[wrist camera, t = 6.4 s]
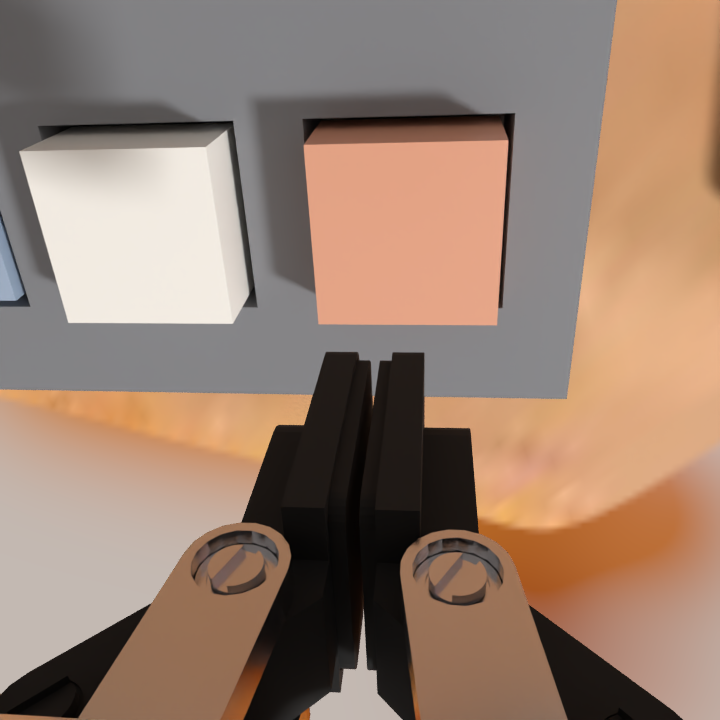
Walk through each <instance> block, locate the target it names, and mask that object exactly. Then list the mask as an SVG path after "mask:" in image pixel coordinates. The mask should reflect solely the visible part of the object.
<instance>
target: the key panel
mask: <svg viewBox="0 0 720 720" xmlns="http://www.w3.org/2000/svg"><path fill="white" fill-rule="evenodd" d="M616 4H617V0H0V211H1V214H2V217H3V221H4V224H5V227H6V230H7V233H8V237H9V240H10V243H11V246H12V249H13V252H14V256H15V259H16V262H17V265H18V268H19V272H20V275H21V278H22V281H23V284H24V288H25V291H26V293H25V294H24V295H23V296H21V297H20V298H19V299H18V300H16V301H0V389H11V390H70V391H129V392H188V393H247V394H306V395H313V393H314V390H315V387H316V383H317V380H318V376H319V373H320V369H321V366H322V363H323V359H324V356H325V353H326V352H358V354H359V360H370V361H371V375H372V396H375V391H376V384H377V377H378V370H379V363H380V360H384V361H392V353H393V352H424V354H425V374H424V397H482V398H541V399H567V392H568V384H569V376H570V368H571V361H572V353H573V345H574V337H575V329H576V321H577V313H578V305H579V297H580V289H581V281H582V273H583V266H584V258H585V250H586V242H587V234H588V226H589V218H590V210H591V202H592V194H593V186H594V178H595V170H596V163H597V155H598V147H599V139H600V131H601V123H602V115H603V107H604V99H605V91H606V83H607V75H608V68H609V60H610V52H611V44H612V36H613V28H614V20H615V12H616ZM465 116H499V117H500V119H501V122H502V124H503V127H504V130H505V132H506V135H507V138H508V156H507V172H506V188H505V204H504V220H503V237H502V253H501V269H500V285H499V301H498V317H497V325H347V324H318V312H317V300H316V288H315V276H314V265H313V253H312V241H311V229H310V217H309V205H308V193H307V181H306V169H305V157H304V143H305V142H306V141H307V139H308V138H309V137H310V135H311V134H312V132H313V131H314V130H315V128H316V127H317V126H318V124H319V123H320V121H321V120H352V119H390V118H427V117H465ZM201 123H233V124H234V131H235V139H236V147H237V154H238V162H239V169H240V177H241V185H242V192H243V200H244V208H245V215H246V223H247V230H248V238H249V246H250V253H251V261H252V268H253V276H254V284H255V285H254V287H253V289H252V291H251V293H250V294H249V296H248V298H247V300H246V301H245V303H244V305H243V307H242V309H241V310H240V312H239V314H238V316H237V317H236V319H235V321H234V323H233V324H175V323H68V320H67V316H66V313H65V309H64V306H63V302H62V299H61V295H60V292H59V288H58V285H57V281H56V278H55V274H54V271H53V267H52V264H51V260H50V257H49V253H48V250H47V247H46V243H45V240H44V236H43V233H42V229H41V226H40V222H39V219H38V215H37V212H36V208H35V205H34V201H33V198H32V194H31V191H30V187H29V184H28V180H27V177H26V173H25V170H24V166H23V163H22V159H21V156H20V153H19V151H21V150H23V149H25V148H27V147H30V146H32V145H34V144H36V143H38V142H40V141H43V140H45V139H47V138H49V137H51V136H53V135H56V134H58V133H60V132H62V131H64V130H66V129H69V128H71V127H88V126H125V125H163V124H201Z"/></svg>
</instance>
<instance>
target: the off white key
mask: <svg viewBox="0 0 720 720" xmlns="http://www.w3.org/2000/svg"><path fill="white" fill-rule="evenodd" d="M19 153H20V156H21V159H22V163H23V166H24V170H25V173H26V177H27V180H28V184H29V187H30V191H31V194H32V198H33V201H34V205H35V208H36V212H37V215H38V219H39V222H40V226H41V229H42V233H43V236H44V240H45V243H46V247H47V250H48V253H49V257H50V260H51V264H52V267H53V271H54V274H55V278H56V281H57V285H58V288H59V292H60V295H61V299H62V302H63V306H64V309H65V313H66V316H67V320H68V323H175V324H233V323H234V321H235V319H236V317H237V316H238V314H239V312H240V310H241V309H242V307H243V305H244V303H245V301H246V300H247V298H248V296H249V294H250V293H251V291H252V289H253V287H254V285H255V284H254V276H253V268H252V261H251V253H250V246H249V238H248V230H247V223H246V215H245V208H244V200H243V192H242V185H241V177H240V169H239V162H238V154H237V147H236V139H235V131H234V124H233V123H201V124H163V125H125V126H88V127H71V128H69V129H66V130H64V131H62V132H60V133H58V134H56V135H53V136H51V137H49V138H47V139H45V140H43V141H40V142H38V143H36V144H34V145H32V146H30V147H27V148H25V149H23V150H21V151H19Z"/></svg>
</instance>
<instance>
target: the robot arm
mask: <svg viewBox="0 0 720 720" xmlns="http://www.w3.org/2000/svg"><path fill="white" fill-rule="evenodd" d="M424 374H425V354H424V352H393V353H392V361H384V360H380V363H379V370H378V377H377V384H376V391H375V398H374V405H373V400H372V375H371V361H370V360H359V354H358V352H326V353H325V356H324V359H323V363H322V366H321V369H320V373H319V376H318V380H317V383H316V387H315V390H314V393H313V397H312V400H311V404H310V407H309V411H308V414H307V417H306V421H305V424H304V425H278V426H276V428H275V430H274V432H273V435H272V438H271V441H270V443H269V446H268V449H267V452H266V455H265V458H264V460H263V463H262V466H261V469H260V472H259V474H258V477H257V480H256V483H255V486H254V489H253V491H252V494H251V497H250V500H249V503H248V505H247V509H246V511H245V514H244V517H243V520H242V522H241V523H236V524H230V525H225V526H221V527H219V528H217V529H214V530H212V531H209V532H207V533H206V534H204V535H203V536H201V537H200V538H198V539H197V540H195V541H194V542H193V543H192V545H191V546H190V547H189V548H188V549H187V550H186V551H185V552H184V554H183V555H182V557H181V559H180V560H179V562H178V563H177V565H176V566H175V568H174V569H173V571H172V573H171V574H170V576H169V577H168V579H167V580H166V582H165V584H164V585H163V587H162V588H161V590H160V591H159V593H158V594H157V596H156V598H155V599H154V601H153V602H152V603H151V604H149V605H148V606H146V607H144V608H142V609H140V610H139V611H137V612H135V613H133V614H132V615H130V616H128V617H126V618H124V619H123V620H121V621H119V622H117V623H116V624H114V625H112V626H110V627H109V628H107V629H105V630H103V631H101V632H100V633H98V634H96V635H94V636H92V637H91V638H89V639H87V640H85V641H84V642H82V643H80V644H78V645H77V646H75V647H73V648H71V649H69V650H68V651H66V652H64V653H63V654H61V655H59V656H57V657H55V658H54V659H52V660H50V661H48V662H46V663H45V664H43V665H41V666H39V667H37V668H36V669H34V670H32V671H30V672H29V673H27V674H26V675H24V676H23V677H21V678H20V679H18V680H17V681H16V682H14V683H13V684H11V685H10V686H9V687H8V688H7V689H6V690H5V691H4V692H3V693H2V694H0V720H310V707H311V706H312V705H313V704H315V703H316V702H317V701H319V700H320V699H321V698H323V697H324V696H325V695H327V694H328V693H329V692H341V684H342V677H343V669H356V668H357V662H358V654H359V645H360V636H361V628H362V619H363V610H364V619H365V637H366V655H367V669H368V670H377V690H378V694H379V695H380V696H381V698H382V699H384V700H385V702H387V704H388V705H389V706H390V707H391V708H392V709H393V710H394V711H395V712H396V713H397V714H398V715H399V716H400V717H401V718H402V719H403V720H683V719H682V718H680V717H679V716H678V715H677V714H676V713H675V712H674V711H673V710H671V709H670V708H669V707H667V706H666V705H665V704H663V703H662V702H660V701H659V700H658V699H656V698H655V697H654V696H652V695H651V694H650V693H648V692H647V691H646V690H644V689H643V688H641V687H640V686H639V685H637V684H636V683H635V682H633V681H632V680H631V679H629V678H628V677H627V676H625V675H624V674H622V673H621V672H620V671H618V670H617V669H616V668H614V667H613V666H612V665H610V664H609V663H607V662H606V661H604V660H603V659H602V658H601V657H599V656H598V655H597V654H595V653H594V652H592V651H591V650H590V649H588V648H587V647H586V646H584V645H583V644H582V643H580V642H579V641H578V640H576V639H575V638H573V637H572V636H570V635H569V634H568V633H567V632H565V631H564V630H563V629H561V628H560V627H558V626H557V625H556V624H554V623H553V622H552V621H550V620H549V619H548V618H546V617H545V616H543V615H542V614H541V613H539V612H538V611H537V610H535V609H534V608H532V607H531V606H530V605H529V604H528V602H527V599H526V596H525V594H524V591H523V587H522V584H521V581H520V579H519V576H518V573H517V570H516V567H515V565H514V563H513V561H512V559H511V557H510V556H509V554H508V552H506V551H505V550H504V549H503V548H502V547H501V546H500V545H499V544H498V543H497V542H495V541H493V540H491V539H489V538H487V537H485V536H483V535H481V534H479V531H478V518H477V506H476V493H475V481H474V468H473V456H472V443H471V432H470V428H424Z"/></svg>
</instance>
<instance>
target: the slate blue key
mask: <svg viewBox="0 0 720 720" xmlns="http://www.w3.org/2000/svg"><path fill="white" fill-rule="evenodd" d="M25 293H26V291H25V288H24V284H23V281H22V278H21V275H20V272H19V268H18V265H17V262H16V259H15V256H14V252H13V249H12V246H11V243H10V240H9V237H8V233H7V230H6V227H5V224H4V221H3V217H2V214H1V211H0V301H16V300H18V299H19V298H20V297H21V296H23V295H24V294H25Z"/></svg>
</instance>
